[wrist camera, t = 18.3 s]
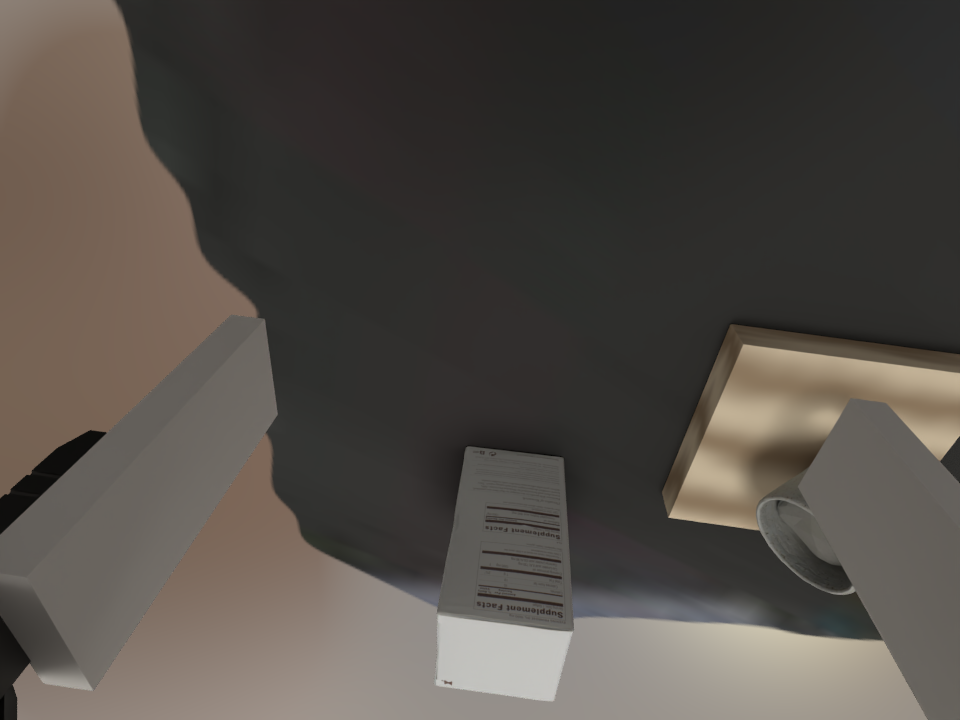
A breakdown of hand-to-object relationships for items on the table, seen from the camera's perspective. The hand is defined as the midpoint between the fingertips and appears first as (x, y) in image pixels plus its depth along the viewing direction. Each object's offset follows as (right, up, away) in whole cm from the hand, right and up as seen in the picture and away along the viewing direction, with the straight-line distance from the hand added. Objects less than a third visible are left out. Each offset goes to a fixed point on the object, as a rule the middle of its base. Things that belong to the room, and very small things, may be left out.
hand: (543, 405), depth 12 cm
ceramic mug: (+25, -6, +30) cm, 39 cm away
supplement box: (+1, -11, +39) cm, 40 cm away
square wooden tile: (+25, -5, +32) cm, 41 cm away
